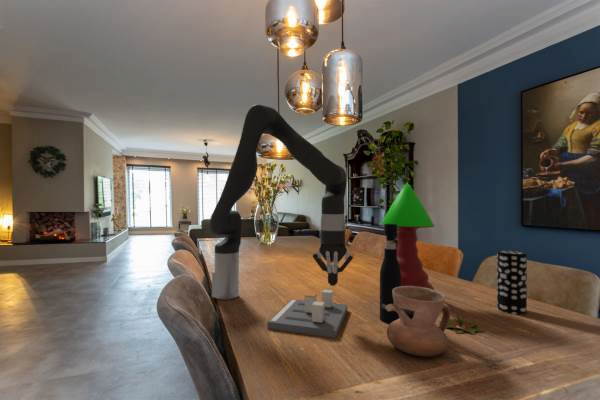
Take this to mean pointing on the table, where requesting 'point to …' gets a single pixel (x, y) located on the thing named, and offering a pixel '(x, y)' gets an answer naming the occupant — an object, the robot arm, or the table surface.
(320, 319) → the block
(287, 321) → the breaker panel
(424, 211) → the table lamp
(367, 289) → the table surface
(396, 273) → the wine bottle
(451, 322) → the green leafy sprig
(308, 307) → the block
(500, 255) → the white-spotted black cylinder
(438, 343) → the ceramic jug
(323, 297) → the breaker
